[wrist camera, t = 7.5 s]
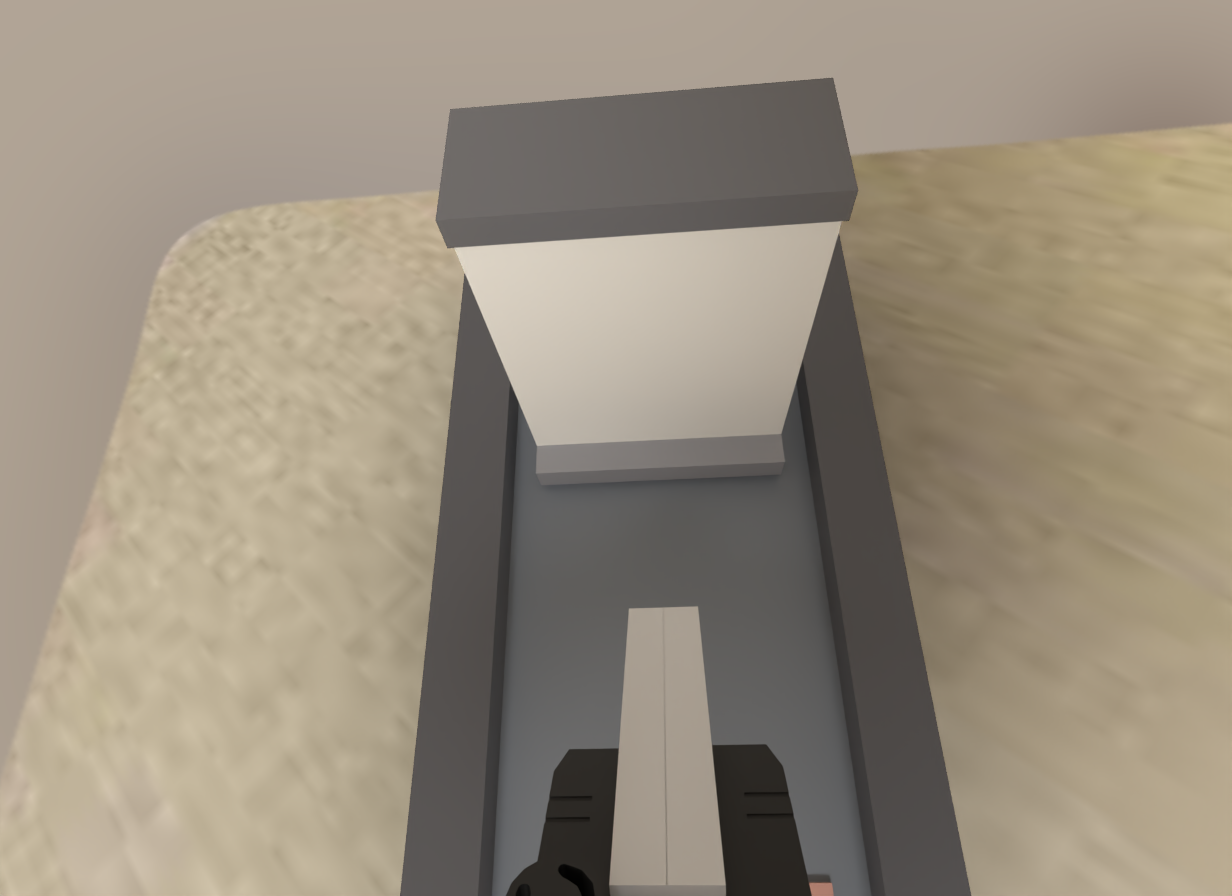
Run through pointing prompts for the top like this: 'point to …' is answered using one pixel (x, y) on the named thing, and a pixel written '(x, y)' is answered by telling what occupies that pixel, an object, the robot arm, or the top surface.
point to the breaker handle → (651, 267)
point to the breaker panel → (729, 624)
